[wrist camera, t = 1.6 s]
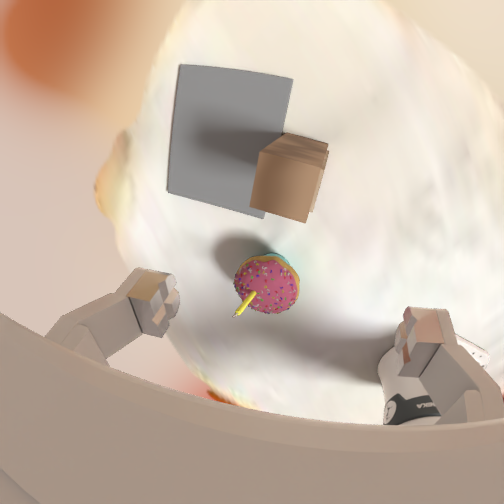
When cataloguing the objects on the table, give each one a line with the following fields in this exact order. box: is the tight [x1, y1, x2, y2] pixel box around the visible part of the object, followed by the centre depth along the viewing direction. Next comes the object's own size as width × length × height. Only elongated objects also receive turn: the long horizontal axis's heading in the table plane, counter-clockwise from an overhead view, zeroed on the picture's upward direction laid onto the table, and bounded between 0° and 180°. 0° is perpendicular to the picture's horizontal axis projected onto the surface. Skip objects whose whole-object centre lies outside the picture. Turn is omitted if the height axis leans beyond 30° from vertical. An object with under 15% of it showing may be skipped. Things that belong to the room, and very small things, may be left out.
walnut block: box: [249, 133, 329, 223], centre depth 29 cm, size 5×5×12 cm
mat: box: [168, 65, 293, 219], centre depth 35 cm, size 14×18×1 cm
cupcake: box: [232, 253, 300, 318], centre depth 38 cm, size 9×8×12 cm
